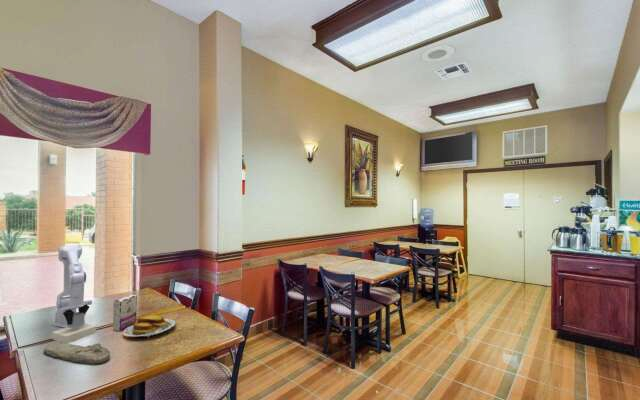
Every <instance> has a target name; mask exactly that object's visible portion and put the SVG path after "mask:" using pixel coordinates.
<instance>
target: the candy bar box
mask: <svg viewBox="0 0 640 400" xmlns="http://www.w3.org/2000/svg"><path fill="white" fill-rule="evenodd" d="M137 298H138V295H137V294H128V295H126V296H122V297H119V298H117V299H114V300H113V310H112V311H113V312H112V313H113V314H112V315H113V316H112V322H113V323H112V331H116V332H117V331H118V332H122V331H124V330H125V329H126V328H128V327H130V326H132V325H134V323H135V322H137V309H138V308H137V307H138V305H137V304H138V303H137V302H138V300H137ZM126 330H127V329H126Z"/></svg>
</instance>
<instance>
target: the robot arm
mask: <svg viewBox="0 0 640 400" xmlns="http://www.w3.org/2000/svg"><path fill="white" fill-rule="evenodd" d="M82 246H83V245H82V244H77V245H63V246H62V245H60V246H59V247H58V261H59V262H62V264H63V291H62V292H59V294H58V295H57V297H56V309H57V310H56V311H55V312H54V313H55V314H54V323H53V324H52V326H55V327H60V328H63V329H64V328H67V324H68V325H72V319H73V314H74V313H76V312H77V311H78V312H81V313H85V315H86V314H87V312H88V311H89V309H90V305H92V304H93V300H84V297H85V283H86V282H87V274H86V273H87V272H86V271H85V270H84V267H83V265H82V263H81V262H79V260H80V258H81V256H82V255H83V247H82Z"/></svg>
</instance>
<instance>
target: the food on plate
mask: <svg viewBox="0 0 640 400" xmlns="http://www.w3.org/2000/svg"><path fill="white" fill-rule="evenodd" d="M175 325H176V321H175V320H173V319H169V318H164V317H163V316H162V315H159V314H148V315H147V314H146V315H143V316H140V317H138V318H137V320H136V322H135V323H134V325H132V326H130V327H128V328H126V329H124V330H123V332H122V334H121V335H123V336H124V337H125V340H128V338H134V337H147V338H150V336H155V335H158V334H161V333H163V332H164V331H165V332H166V331H167V330H171V329H172V327H174V326H175Z"/></svg>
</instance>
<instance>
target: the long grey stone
mask: <svg viewBox="0 0 640 400" xmlns="http://www.w3.org/2000/svg"><path fill="white" fill-rule="evenodd" d="M43 353H44V354H46V355H48V356H50V357H53V358H56V359H57V358H58V359H61V360H63V361H71V362H74V363H81V364H86V365H90V364H92V365H94V364H102V363H105V362H106V361H107V360H110V359H111V354H110V353H111V352H110V351H109V350H108V348H107V347H103V346H102V344H101V343H94V344H89V345H85V346H83V345H82V346H81V345H78V344H71V343H67V344H64V343H62V342H54V343H51V344H48V345H47V346H46V347H44V349H43Z"/></svg>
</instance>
